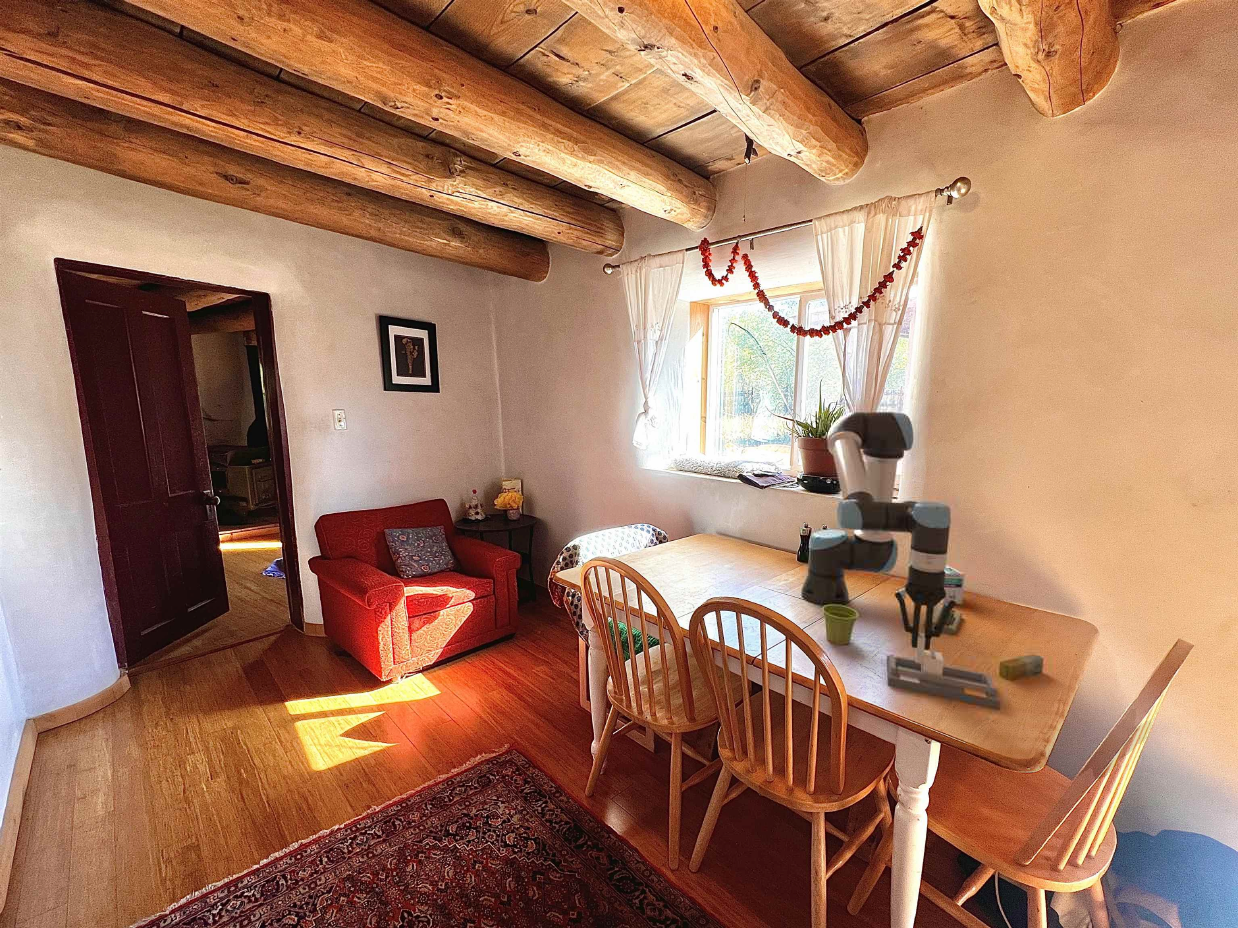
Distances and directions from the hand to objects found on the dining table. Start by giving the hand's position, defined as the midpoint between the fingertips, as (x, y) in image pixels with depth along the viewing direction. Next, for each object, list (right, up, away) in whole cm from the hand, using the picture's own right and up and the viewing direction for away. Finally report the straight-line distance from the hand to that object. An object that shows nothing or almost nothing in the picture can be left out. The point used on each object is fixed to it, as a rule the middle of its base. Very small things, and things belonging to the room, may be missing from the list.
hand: (919, 660), depth 125 cm
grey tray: (+4, -5, -1) cm, 7 cm away
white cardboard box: (+2, -3, -1) cm, 4 cm away
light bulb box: (+39, +1, +53) cm, 66 cm away
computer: (+27, -2, +33) cm, 43 cm away
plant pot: (-11, -2, +21) cm, 24 cm away
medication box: (+28, -5, +4) cm, 28 cm away
